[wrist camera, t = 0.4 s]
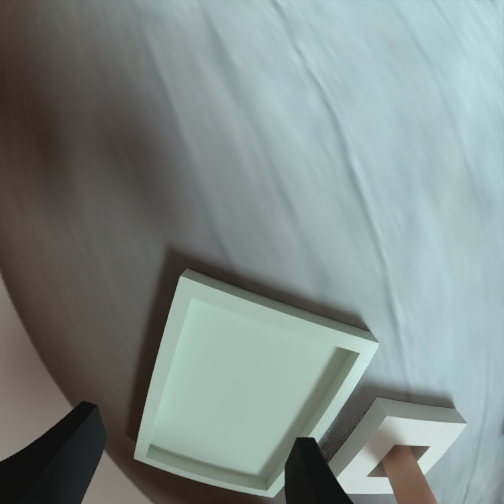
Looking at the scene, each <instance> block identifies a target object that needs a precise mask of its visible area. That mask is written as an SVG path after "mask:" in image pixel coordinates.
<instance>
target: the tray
mask: <svg viewBox="0 0 504 504" xmlns="http://www.w3.org/2000/svg"><path fill="white" fill-rule="evenodd" d="M379 344H380V343H379V342H378V340H377V339H376V338H375V336H374V335H373V334H372V332H370V331H367V330H363V329H360V328H357V327H354V326H351V325H348V324H345V323H342V322H339V321H335V320H332V319H329V318H326V317H323V316H320V315H317V314H314V313H311V312H308V311H305V310H302V309H299V308H296V307H294V306H291V305H288V304H285V303H282V302H279V301H276V300H273V299H270V298H268V297H265V296H262V295H259V294H256V293H253V292H251V291H248V290H245V289H242V288H239V287H237V286H234V285H231V284H228V283H226V282H223V281H220V280H217V279H215V278H212V277H209V276H207V275H204V274H201V273H199V272H196V271H193V270H191V269H188V268H187V269H186V270H185V271H184V272H183V273H182V274H181V276H180V278H179V282H178V285H177V288H176V292H175V295H174V298H173V302H172V305H171V309H170V312H169V315H168V319H167V323H166V326H165V330H164V333H163V337H162V341H161V344H160V348H159V352H158V356H157V359H156V363H155V367H154V371H153V375H152V379H151V383H150V387H149V391H148V395H147V399H146V404H145V408H144V412H143V417H142V421H141V426H140V430H139V435H138V440H137V444H136V449H135V454H134V459H136V460H139V461H141V462H144V463H146V464H149V465H151V466H154V467H157V468H159V469H162V470H165V471H168V472H171V473H174V474H177V475H180V476H183V477H186V478H189V479H193V480H196V481H200V482H203V483H207V484H210V485H214V486H218V487H222V488H226V489H231V490H235V491H240V492H244V493H249V494H255V495H260V496H266V497H272V498H273V497H274V496H275V495H276V494H277V493H278V492H279V490H280V489H281V488H282V487H283V486H284V485H285V481H284V474H285V463H286V461H287V459H288V456H289V454H290V452H291V449H292V447H293V445H294V442H295V440H296V437H314V438H315V440H316V442H317V443H318V441H319V440H320V439H321V437H322V436H323V435H324V433H325V432H326V430H327V429H328V427H329V426H330V425H331V423H332V422H333V420H334V419H335V417H336V416H337V414H338V413H339V411H340V410H341V408H342V407H343V405H344V404H345V402H346V401H347V399H348V397H349V396H350V394H351V393H352V391H353V389H354V388H355V386H356V385H357V383H358V381H359V380H360V378H361V376H362V375H363V373H364V371H365V369H366V368H367V366H368V364H369V362H370V361H371V359H372V357H373V355H374V353H375V352H376V350H377V348H378V346H379Z"/></svg>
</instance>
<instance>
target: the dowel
mask: <svg viewBox="0 0 504 504" xmlns="http://www.w3.org/2000/svg"><path fill="white" fill-rule="evenodd" d="M381 462H382V464H383V467H384V469H385V472H386V475H387V477H388V480H389V482H390V485H391V487H392V490H393V493H394V495H395V498H396V501H397V503H398V504H438V503H437V501H436V499H435V497H434V495H433V493H432V491H431V489H430V487H429V485H428V483H427V481H426V479H425V477H424V475H423V473H422V471H421V469H420V467H419V465H418V463H417V461H416V459H415V457H414V455H413V453H412V451H411V449H410V447H409V445H394V446H393V447H392V448H391V449H390V451H389V452H388V453H387V454H386V455H385V456H384V458H383V459H382V460H381Z"/></svg>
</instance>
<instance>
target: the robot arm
mask: <svg viewBox="0 0 504 504" xmlns="http://www.w3.org/2000/svg"><path fill="white" fill-rule="evenodd" d="M106 439H107V435H106V432H105V429H104V426H103V423H102V419H101V416H100V412H99V409H98V405H95V404H92V403H89V402H86V401H82V402H81V403H80V404H79V405H78V406H76V407H75V408H74V409H73V410H72V411H71V412H70V413H68V414H67V415H66V416H65V417H64V418H63V419H61V420H60V421H59V422H58V423H57V424H56V425H55V426H53V427H52V428H51V429H49V430H48V431H47V432H46V433H44V434H43V435H42V436H41V437H39V438H38V439H36V440H35V441H34V442H32V443H31V444H29V445H28V446H27V447H25V448H24V449H22V450H20V451H19V452H17V453H16V454H14V455H12V456H10V457H9V458H7V459H5V460H3V461H0V504H81V503H82V500H83V498H84V495H85V493H86V491H87V488H88V486H89V484H90V482H91V479H92V477H93V475H94V473H95V470H96V468H97V465H98V464H99V461H100V459H101V455H102V453H103V449H104V446H105V442H106ZM284 481H285V496H286V504H353V502H352V501H351V500H350V498H349V497H348V495H347V494H346V493H345V491H344V490H343V488H342V487H341V485H340V483H339V482H338V480H337V479H336V477H335V476H334V474H333V472H332V470H331V469H330V467H329V465H328V463H327V462H326V460H325V458H324V456H323V454H322V452H321V450H320V448H319V446H318V444H317V442H316V440H315V438H314V437H296V440H295V442H294V445H293V447H292V449H291V452H290V454H289V456H288V459H287V461H286V463H285V474H284Z"/></svg>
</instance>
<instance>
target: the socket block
mask: <svg viewBox="0 0 504 504" xmlns="http://www.w3.org/2000/svg"><path fill="white" fill-rule="evenodd" d="M466 425H467V422H466V421H465V420H464V419H463V417H462V416H461V415H460V414H459V412H458V411H457V410H456V409H452V408H444V407H436V406H429V405H422V404H415V403H409V402H403V401H397V400H391V399H386V398H380V397H377V398H376V399H375V401H374V402H373V404H372V405H371V407H370V408H369V409H368V411H367V412H366V414H365V415H364V417H363V418H362V420H361V421H360V422H359V424H358V425H357V426H356V428H355V429H354V431H353V432H352V433H351V435H350V436H349V437H348V439H347V440H346V441H345V443H344V444H343V445H342V446H341V448H340V449H339V450H338V451H337V453H336V454H335V455H334V456H333V458H332V459H331V460H330V461H329V462H328V465H329V467H330V469H331V470H332V472H333V474H334V476H335V477H336V479H337V480H338V482H339V483H340V485H341V487H342V488H343V490H344V491H345V493H349V494H392V493H393V490H392V487H391V485H390V482H389V480H388V477H387V475H386V472H385V469H384V467H383V464H382V462H381V460H382V459H383V458H384V456H385V455H386V454H387V453H388V452H389V451H390V449H391V448H392V447H393V446H394V445H409V447H410V449H411V451H412V453H413V455H414V457H415V459H416V461H417V463H418V465H419V467H420V469H421V471H422V473H423V475H425V473H426V472H427V471H428V470H429V469H430V468H431V467H432V466H433V465H434V464H435V463H436V462H437V461H438V459H439V458H440V457H441V456H442V455H443V454H444V453H445V451H446V450H447V449H448V448H449V447H450V445H451V444H452V443H453V442H454V441H455V439H456V438H457V437H458V436H459V434H460V433H461V432H462V430H463V429H464V428H465V426H466Z"/></svg>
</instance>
